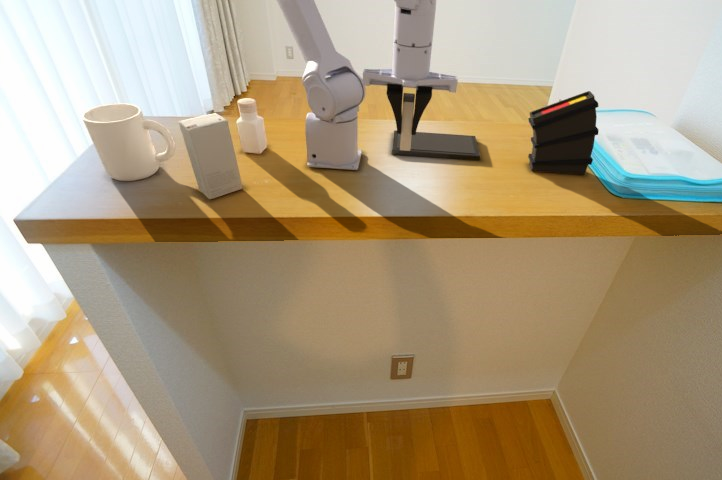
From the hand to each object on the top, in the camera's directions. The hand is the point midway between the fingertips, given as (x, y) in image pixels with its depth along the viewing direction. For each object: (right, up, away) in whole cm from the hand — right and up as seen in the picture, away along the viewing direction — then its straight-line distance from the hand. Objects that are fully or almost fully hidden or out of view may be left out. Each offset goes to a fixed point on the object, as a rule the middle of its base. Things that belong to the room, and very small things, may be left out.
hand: (406, 132), depth 70 cm
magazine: (+29, -3, +13) cm, 32 cm away
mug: (-46, -6, +4) cm, 47 cm away
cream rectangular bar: (0, -2, +2) cm, 3 cm away
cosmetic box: (-31, -10, 0) cm, 33 cm away
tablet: (+6, +3, +18) cm, 19 cm away
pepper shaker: (-30, 0, +12) cm, 32 cm away
